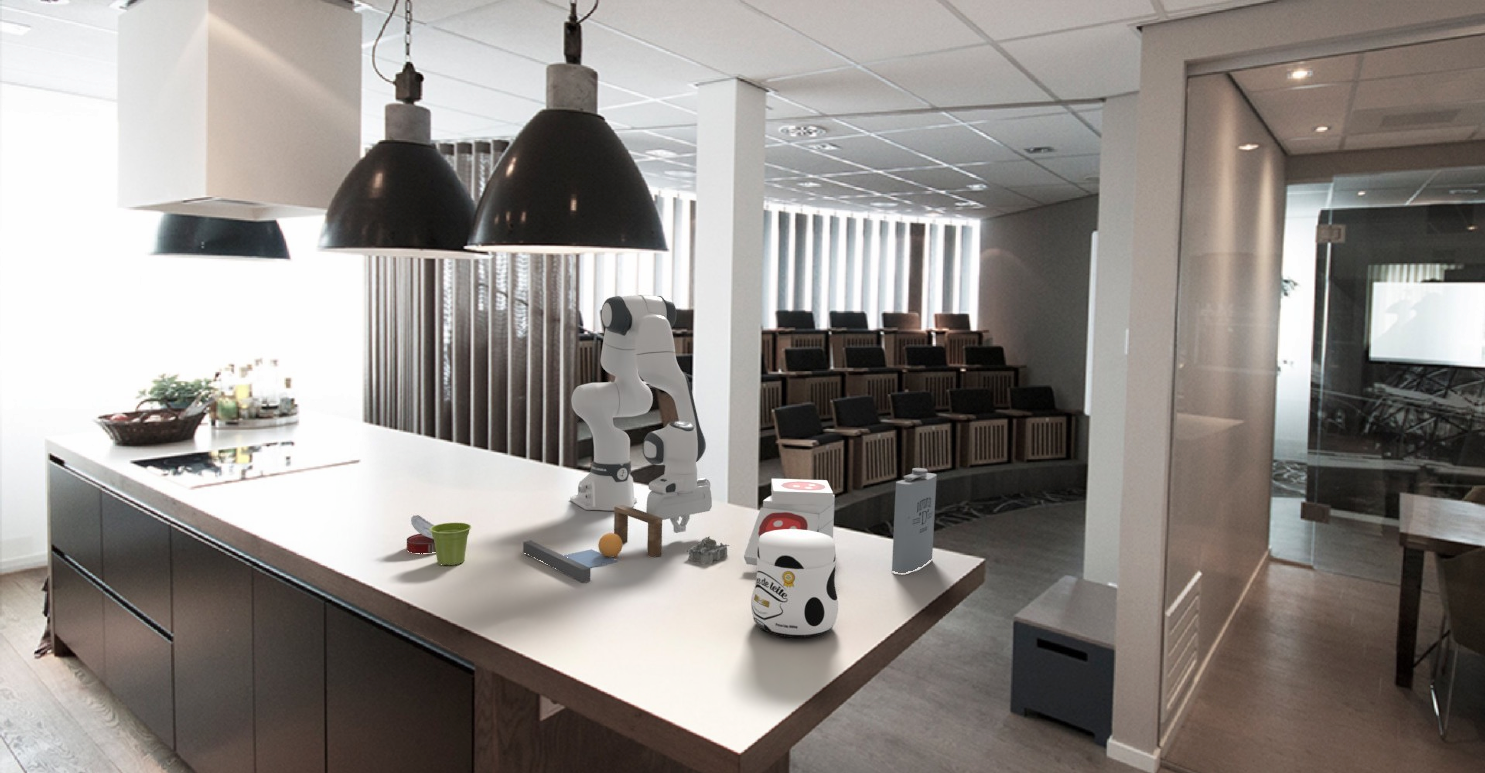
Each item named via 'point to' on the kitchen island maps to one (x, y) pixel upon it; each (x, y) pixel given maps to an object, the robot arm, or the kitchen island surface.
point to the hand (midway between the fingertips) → (679, 531)
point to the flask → (914, 520)
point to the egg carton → (707, 551)
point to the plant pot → (450, 542)
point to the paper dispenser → (793, 510)
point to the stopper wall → (557, 561)
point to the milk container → (795, 583)
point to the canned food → (421, 537)
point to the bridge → (653, 521)
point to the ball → (610, 545)
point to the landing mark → (590, 558)
